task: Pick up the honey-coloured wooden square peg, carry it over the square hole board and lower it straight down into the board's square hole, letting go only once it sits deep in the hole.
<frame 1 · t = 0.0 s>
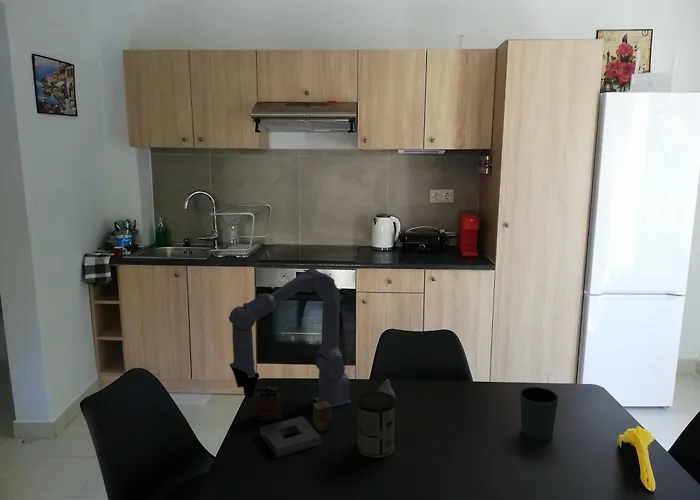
hand: (245, 391, 155), 10 cm above the table, tool pointing down, fingers open, 7 cm apart
peg: (322, 427, 154), on the table
dark grey cup: (536, 434, 150), on the table
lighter: (268, 418, 160), on the table
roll: (385, 415, 161), on the table
coffee can: (375, 448, 143), on the table
square hole board: (290, 439, 147), on the table
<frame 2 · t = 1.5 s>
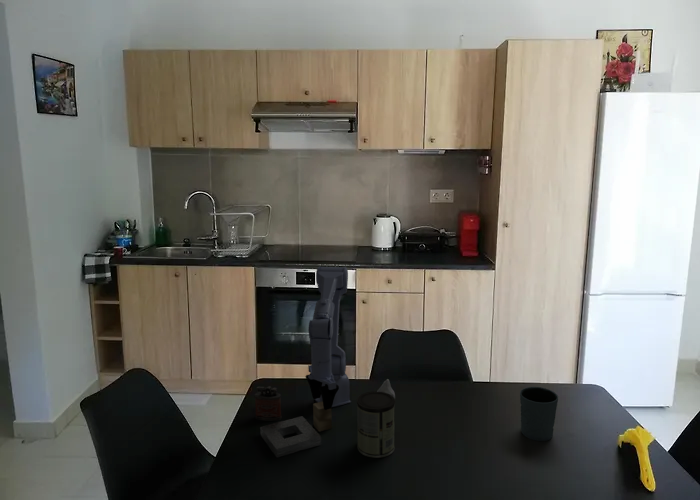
hand: (322, 403, 153), 7 cm above the table, tool pointing down, fingers open, 7 cm apart
nothing on the table moved.
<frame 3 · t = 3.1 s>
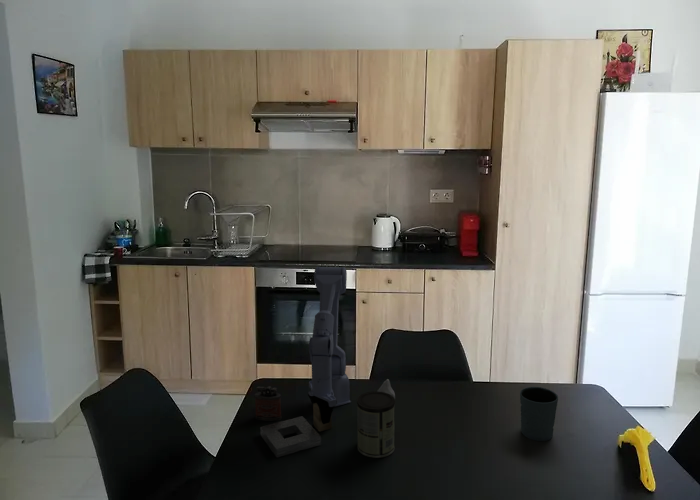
hand: (322, 419, 154), 2 cm above the table, tool pointing down, fingers closed on peg, 4 cm apart
peg: (322, 426, 154), on the table, touching gripper
everything else where it was.
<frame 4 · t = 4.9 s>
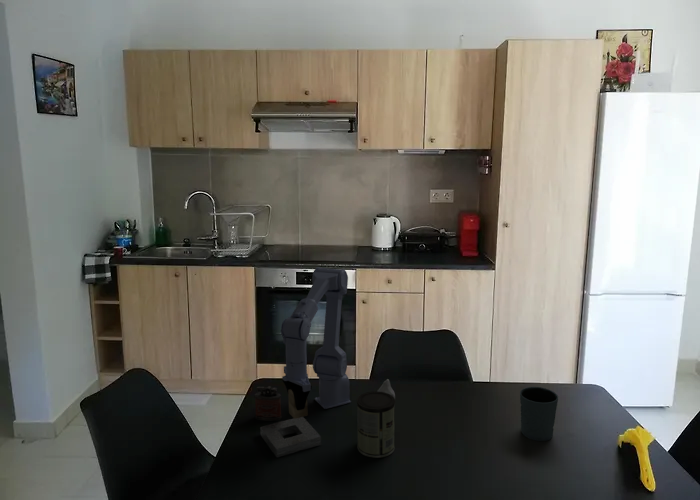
hand: (297, 405, 147), 10 cm above the table, tool pointing down, fingers closed on peg, 4 cm apart
peg: (298, 414, 148), point 7 cm above the table, touching gripper
everything else where it was.
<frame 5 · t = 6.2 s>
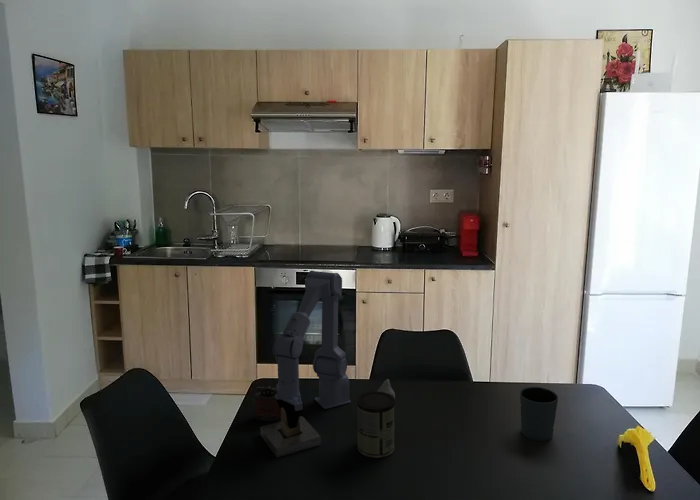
hand: (289, 423, 146), 5 cm above the table, tool pointing down, fingers closed on peg, 4 cm apart
peg: (290, 432, 147), point 2 cm above the table, touching gripper
everything else where it was.
when the fingers open (4 cm above the table, at t = 6.9 s): peg drops 1 cm, resting in square hole board.
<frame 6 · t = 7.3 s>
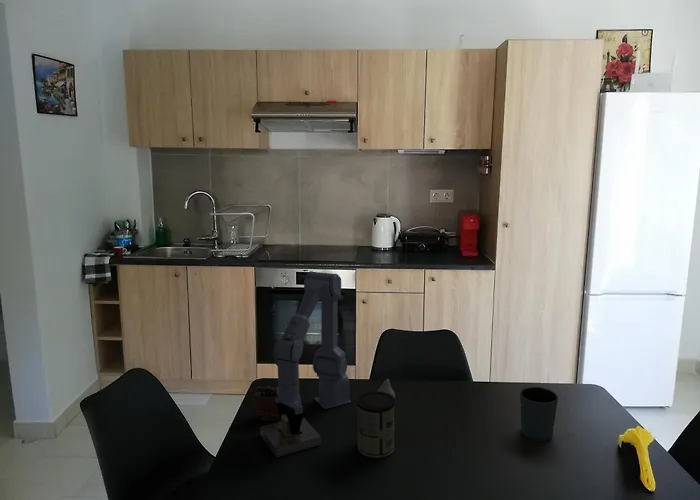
hand: (289, 427, 147), 4 cm above the table, tool pointing down, fingers open, 7 cm apart
peg: (291, 439, 147), resting in square hole board
everything else where it was.
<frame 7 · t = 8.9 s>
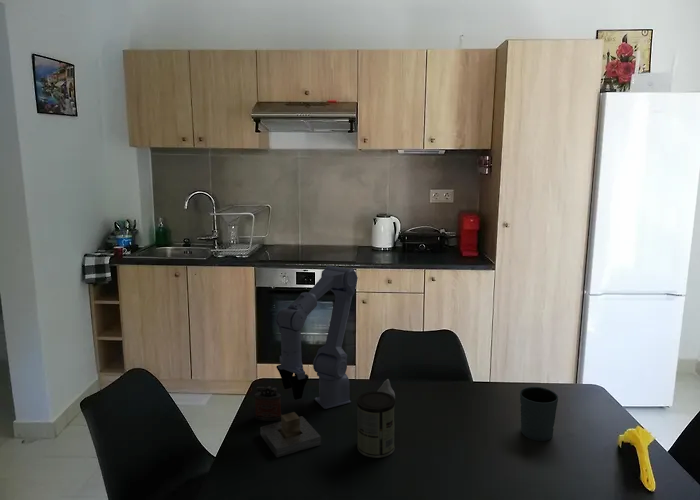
hand: (292, 393, 153), 10 cm above the table, tool pointing down, fingers open, 7 cm apart
nothing on the table moved.
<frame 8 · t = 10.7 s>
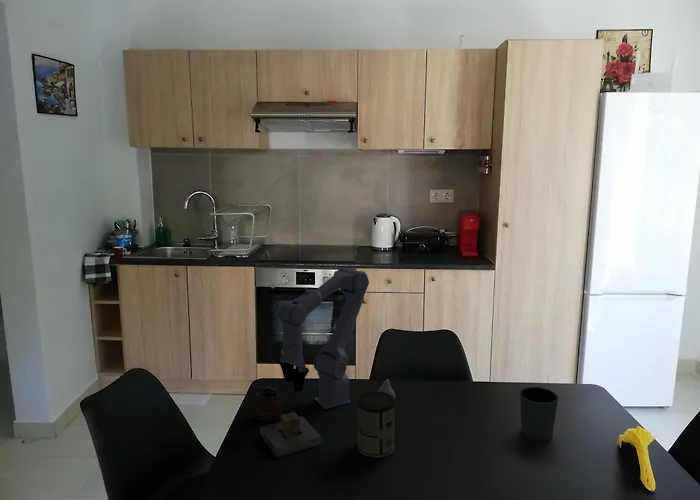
hand: (293, 386, 158), 10 cm above the table, tool pointing down, fingers open, 7 cm apart
nothing on the table moved.
at the end: peg 0.2 cm off-centre on the square hole board, point 0.0 cm above the square hole board's base; peg tilted 0°; the gripper is holding nothing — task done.
